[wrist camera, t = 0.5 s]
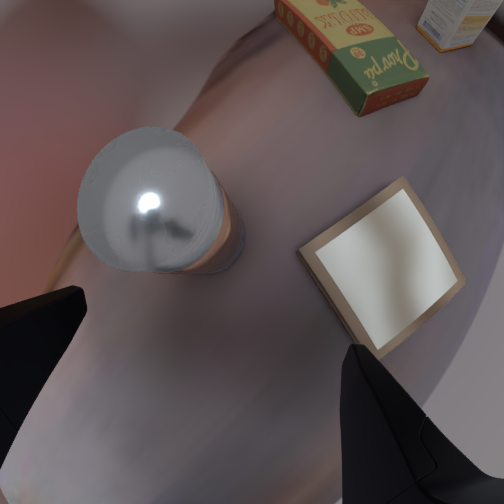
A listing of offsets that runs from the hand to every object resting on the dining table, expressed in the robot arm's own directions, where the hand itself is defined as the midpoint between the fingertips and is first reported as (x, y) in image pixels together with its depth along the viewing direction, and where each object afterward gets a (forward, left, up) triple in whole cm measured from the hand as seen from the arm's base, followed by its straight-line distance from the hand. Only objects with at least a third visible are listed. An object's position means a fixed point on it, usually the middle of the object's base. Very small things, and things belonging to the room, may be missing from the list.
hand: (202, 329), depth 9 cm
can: (0, +6, -15) cm, 16 cm away
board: (+10, -4, -15) cm, 18 cm away
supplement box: (+38, +12, -15) cm, 42 cm away
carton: (+22, +15, -15) cm, 30 cm away
